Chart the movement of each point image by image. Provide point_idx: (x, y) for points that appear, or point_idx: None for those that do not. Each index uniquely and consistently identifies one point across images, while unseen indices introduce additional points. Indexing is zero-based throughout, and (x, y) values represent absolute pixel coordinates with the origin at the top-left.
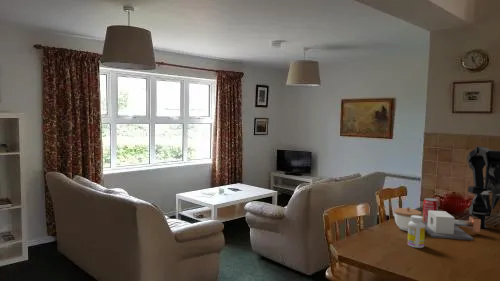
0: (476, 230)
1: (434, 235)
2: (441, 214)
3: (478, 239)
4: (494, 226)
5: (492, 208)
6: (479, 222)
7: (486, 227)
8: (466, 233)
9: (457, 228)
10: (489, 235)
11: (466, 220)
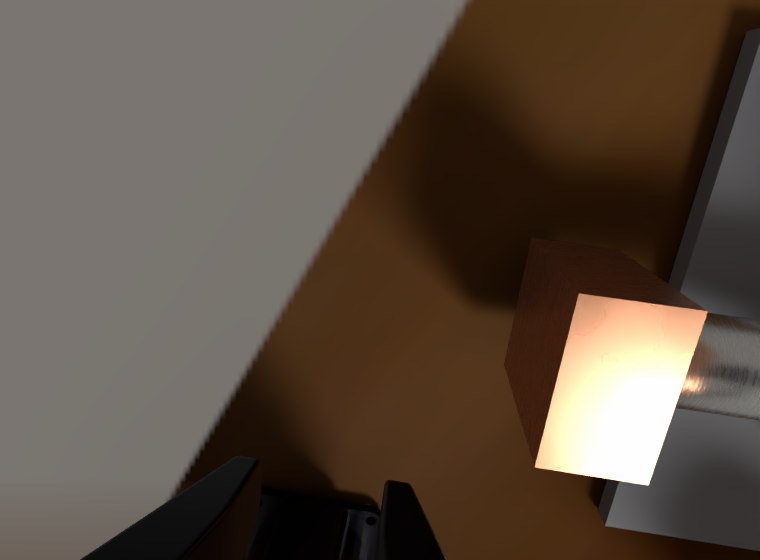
0: (580, 247)
1: None
2: None
3: (639, 78)
4: None
5: (259, 487)
6: (580, 278)
7: (266, 494)
8: (706, 232)
9: (668, 426)
10: (380, 260)
11: (735, 384)
